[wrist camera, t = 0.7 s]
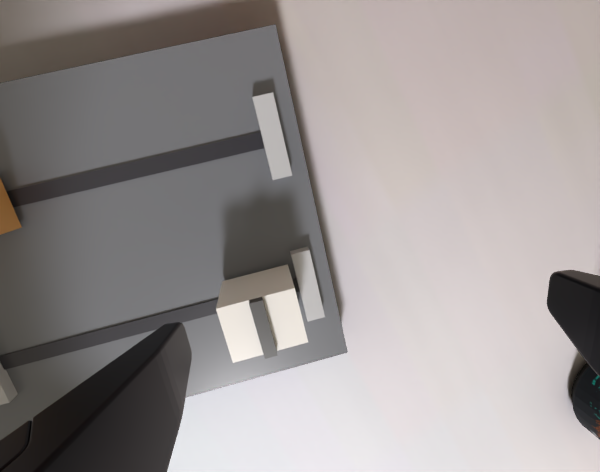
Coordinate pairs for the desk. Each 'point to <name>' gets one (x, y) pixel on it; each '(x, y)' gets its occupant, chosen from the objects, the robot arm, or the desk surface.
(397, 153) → the desk surface
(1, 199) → the block
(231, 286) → the white fader
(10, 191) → the console
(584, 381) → the beverage can
